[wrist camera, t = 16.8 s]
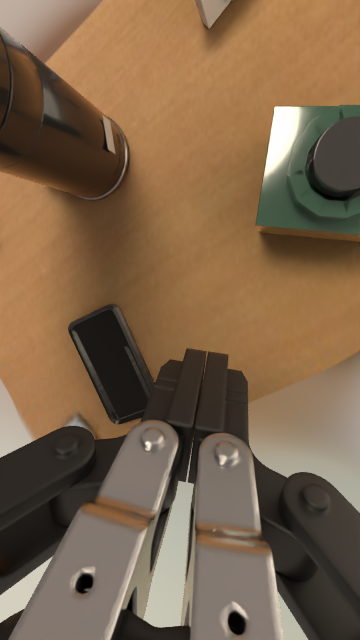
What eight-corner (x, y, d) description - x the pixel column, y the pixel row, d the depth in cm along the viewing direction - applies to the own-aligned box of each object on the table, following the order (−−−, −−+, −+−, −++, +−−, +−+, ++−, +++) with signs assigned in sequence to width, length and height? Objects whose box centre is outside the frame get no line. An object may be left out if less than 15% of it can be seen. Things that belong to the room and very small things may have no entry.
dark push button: (303, 195, 24) (307, 188, 21) (316, 130, 23) (321, 114, 20) (368, 199, 22) (380, 192, 20) (384, 131, 21) (398, 115, 19)
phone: (113, 426, 43) (65, 325, 42) (116, 422, 44) (70, 323, 43) (162, 410, 40) (112, 302, 39) (165, 406, 41) (117, 301, 40)
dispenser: (259, 232, 34) (253, 222, 24) (274, 140, 32) (274, 91, 22) (372, 243, 31) (415, 236, 22) (396, 143, 29) (455, 89, 20)
